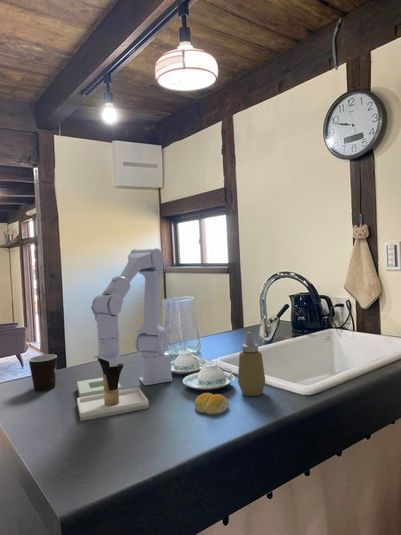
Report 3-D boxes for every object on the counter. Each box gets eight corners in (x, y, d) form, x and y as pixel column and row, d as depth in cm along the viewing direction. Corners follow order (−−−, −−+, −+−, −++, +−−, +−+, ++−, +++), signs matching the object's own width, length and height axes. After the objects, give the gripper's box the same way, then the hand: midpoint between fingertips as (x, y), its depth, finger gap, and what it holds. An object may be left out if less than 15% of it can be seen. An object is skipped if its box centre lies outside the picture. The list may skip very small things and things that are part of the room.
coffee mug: (49, 393, 122) (47, 361, 122) (24, 392, 124) (22, 361, 124) (68, 380, 134) (67, 352, 133) (46, 380, 135) (44, 352, 135)
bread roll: (204, 400, 110) (203, 387, 110) (232, 406, 106) (231, 391, 105) (188, 411, 103) (187, 396, 103) (217, 418, 99) (216, 402, 98)
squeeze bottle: (271, 392, 114) (268, 331, 113) (255, 400, 108) (252, 336, 108) (249, 386, 120) (246, 328, 119) (232, 394, 114) (230, 333, 113)
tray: (139, 393, 118) (139, 387, 118) (148, 407, 107) (148, 400, 107) (77, 404, 111) (77, 398, 111) (80, 421, 100) (80, 413, 100)
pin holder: (115, 383, 129) (114, 375, 129) (121, 394, 118) (121, 386, 118) (77, 389, 125) (77, 381, 125) (80, 401, 114) (80, 393, 113)
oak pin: (117, 399, 111) (116, 371, 111) (120, 404, 108) (118, 375, 107) (103, 401, 110) (102, 373, 110) (105, 406, 106) (103, 378, 106)
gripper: (91, 334, 114) (93, 380, 114) (96, 344, 100) (99, 396, 101) (115, 331, 116) (117, 376, 117) (124, 341, 103) (126, 391, 103)
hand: (111, 385), depth 109 cm, fingers open, 7 cm apart
